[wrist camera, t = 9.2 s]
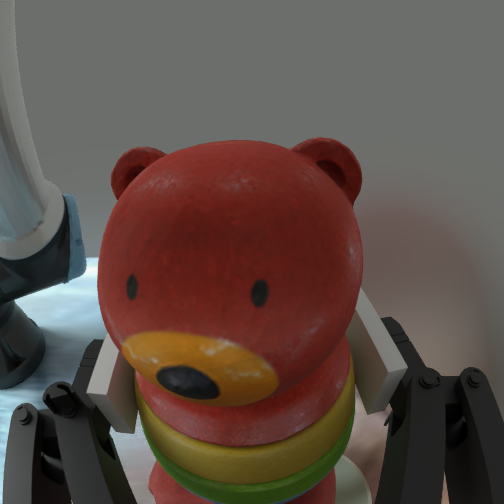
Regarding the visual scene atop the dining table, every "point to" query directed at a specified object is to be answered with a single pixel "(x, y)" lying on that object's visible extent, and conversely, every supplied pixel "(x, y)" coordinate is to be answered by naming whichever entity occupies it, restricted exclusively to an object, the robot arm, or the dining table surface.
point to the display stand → (350, 483)
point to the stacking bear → (237, 314)
